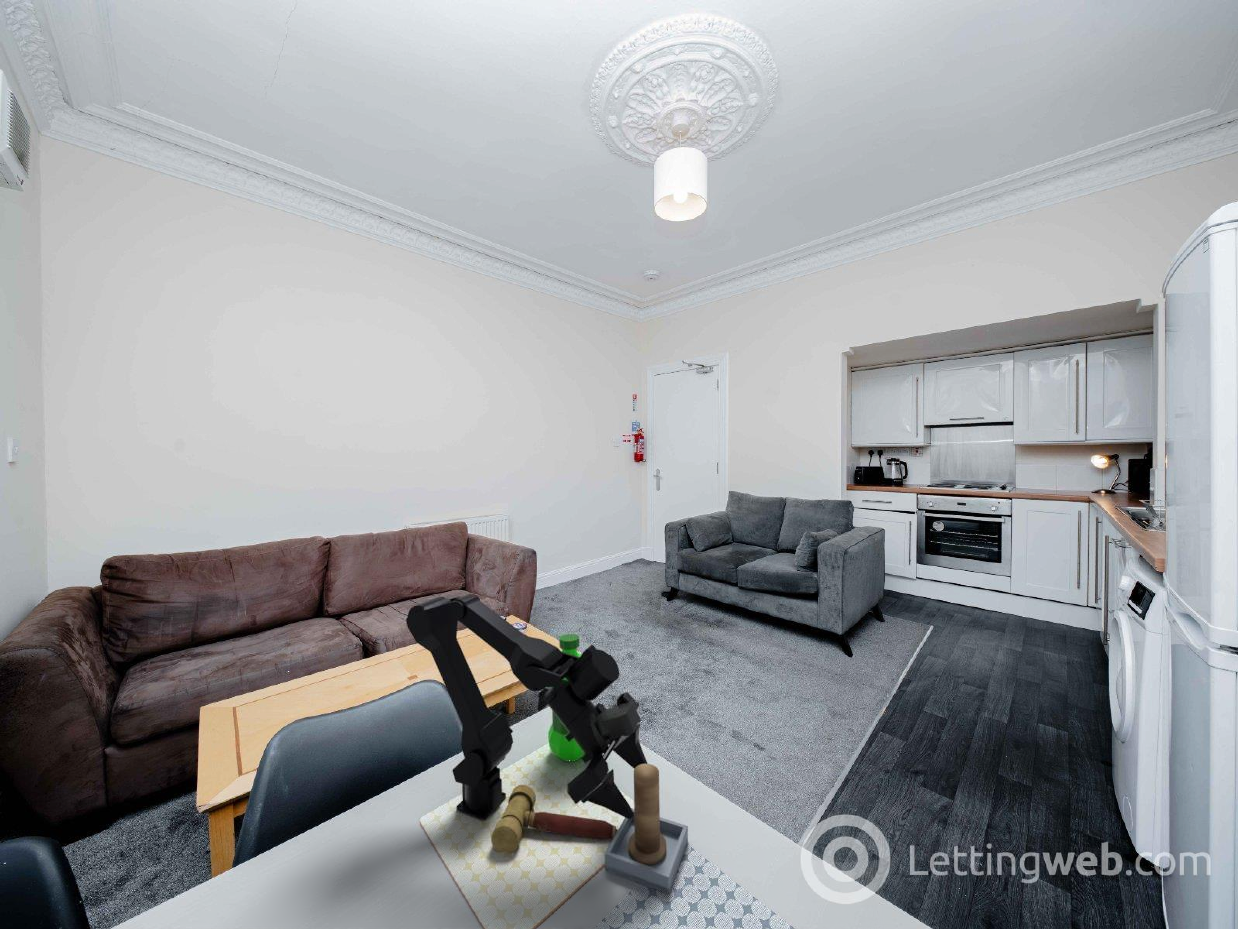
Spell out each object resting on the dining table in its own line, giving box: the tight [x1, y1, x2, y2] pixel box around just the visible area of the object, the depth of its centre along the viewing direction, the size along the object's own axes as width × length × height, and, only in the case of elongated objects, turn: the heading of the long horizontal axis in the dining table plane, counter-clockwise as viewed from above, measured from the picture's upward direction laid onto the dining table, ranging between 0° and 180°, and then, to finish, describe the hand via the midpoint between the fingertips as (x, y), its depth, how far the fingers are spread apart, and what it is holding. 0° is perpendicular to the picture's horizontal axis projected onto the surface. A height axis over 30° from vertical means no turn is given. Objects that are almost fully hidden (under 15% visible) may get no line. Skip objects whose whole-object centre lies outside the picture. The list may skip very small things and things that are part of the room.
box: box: [604, 807, 689, 895], centre depth 74 cm, size 10×10×2 cm
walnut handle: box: [629, 763, 666, 866], centre depth 74 cm, size 6×6×12 cm
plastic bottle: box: [546, 633, 585, 762], centre depth 100 cm, size 10×10×25 cm
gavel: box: [490, 784, 619, 854], centre depth 79 cm, size 21×5×10 cm
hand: (641, 796), depth 74 cm, fingers open, 9 cm apart
